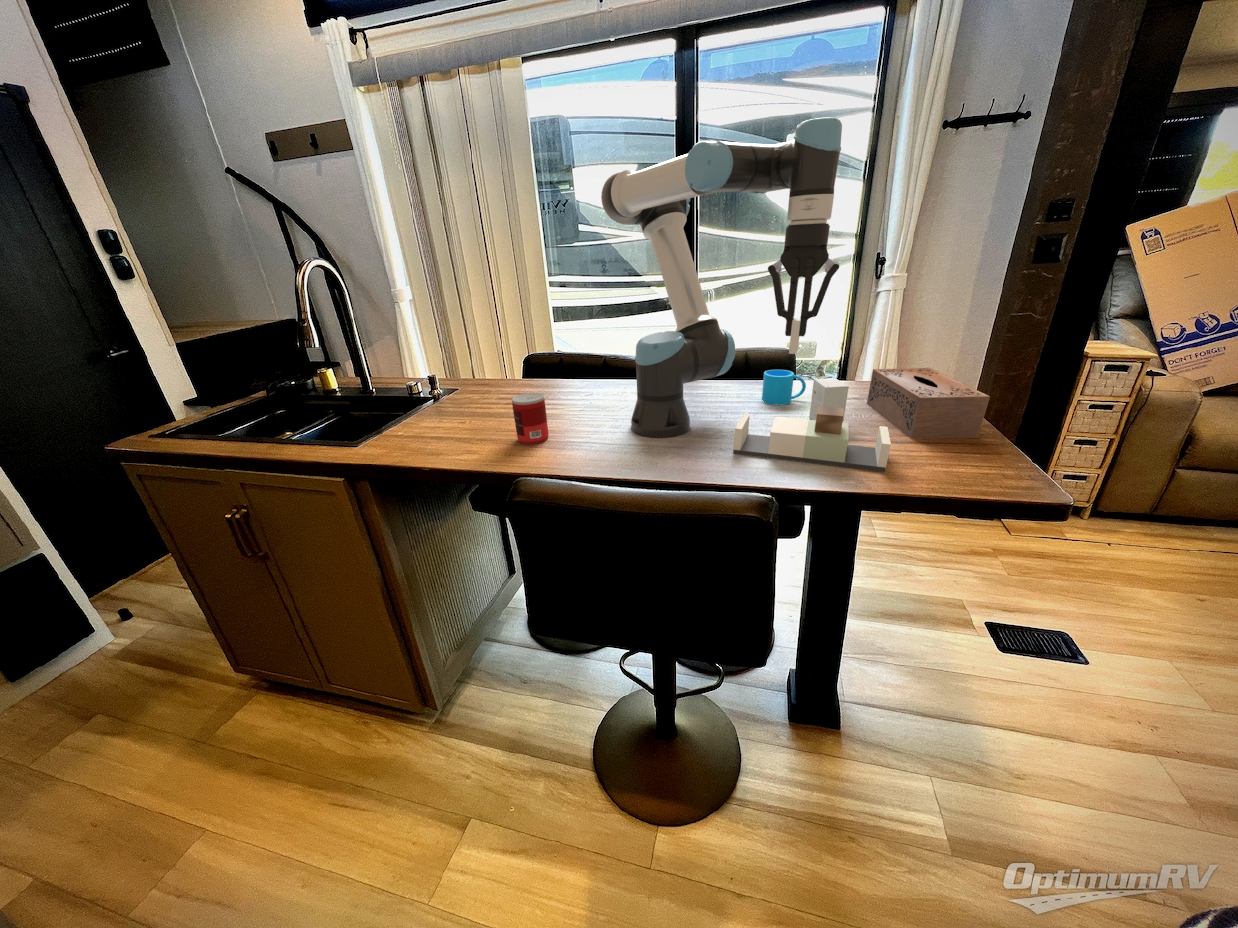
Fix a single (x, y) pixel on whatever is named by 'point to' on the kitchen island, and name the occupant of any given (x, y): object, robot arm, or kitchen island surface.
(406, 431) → the kitchen island surface
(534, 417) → the canned food
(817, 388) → the small box
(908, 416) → the tissue box cover
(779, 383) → the mug
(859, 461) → the board
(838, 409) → the walnut block
